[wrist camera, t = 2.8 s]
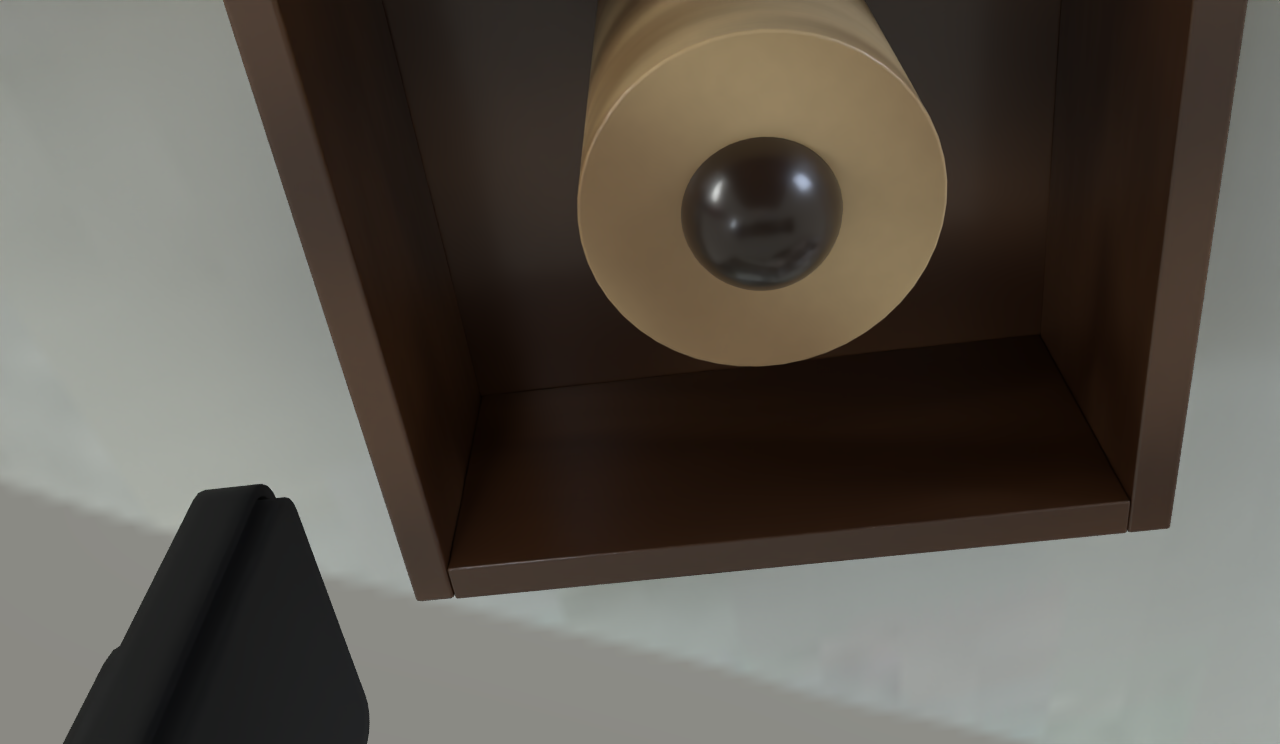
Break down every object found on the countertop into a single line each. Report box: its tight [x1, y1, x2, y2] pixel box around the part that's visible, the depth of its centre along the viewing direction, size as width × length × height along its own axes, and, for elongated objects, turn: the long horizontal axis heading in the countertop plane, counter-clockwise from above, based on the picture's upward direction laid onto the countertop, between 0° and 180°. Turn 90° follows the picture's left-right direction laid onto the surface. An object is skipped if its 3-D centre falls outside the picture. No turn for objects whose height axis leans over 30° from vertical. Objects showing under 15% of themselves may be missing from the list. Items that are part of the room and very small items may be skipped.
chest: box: [223, 0, 1248, 601], centre depth 21 cm, size 18×15×7 cm
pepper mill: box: [577, 0, 947, 366], centre depth 19 cm, size 5×5×10 cm
